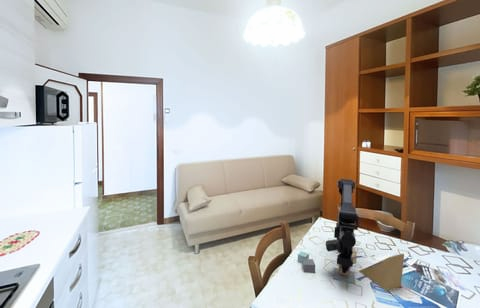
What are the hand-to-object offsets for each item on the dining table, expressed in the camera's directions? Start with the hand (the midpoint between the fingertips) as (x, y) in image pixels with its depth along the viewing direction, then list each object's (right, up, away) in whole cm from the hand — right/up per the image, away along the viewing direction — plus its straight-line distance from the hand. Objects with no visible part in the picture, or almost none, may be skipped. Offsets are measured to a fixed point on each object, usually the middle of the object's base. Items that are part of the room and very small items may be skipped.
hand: (344, 270), depth 113 cm
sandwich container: (+15, -3, -1) cm, 15 cm away
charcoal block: (-15, -2, +5) cm, 16 cm away
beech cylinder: (+9, -1, +13) cm, 15 cm away
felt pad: (0, -3, 0) cm, 3 cm away
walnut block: (0, -1, 0) cm, 1 cm away
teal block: (-16, -1, +12) cm, 20 cm away
